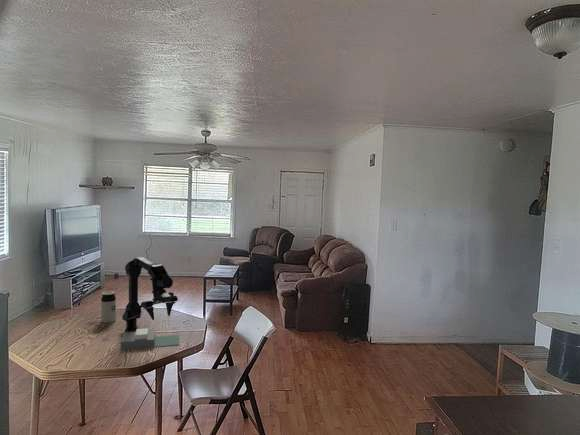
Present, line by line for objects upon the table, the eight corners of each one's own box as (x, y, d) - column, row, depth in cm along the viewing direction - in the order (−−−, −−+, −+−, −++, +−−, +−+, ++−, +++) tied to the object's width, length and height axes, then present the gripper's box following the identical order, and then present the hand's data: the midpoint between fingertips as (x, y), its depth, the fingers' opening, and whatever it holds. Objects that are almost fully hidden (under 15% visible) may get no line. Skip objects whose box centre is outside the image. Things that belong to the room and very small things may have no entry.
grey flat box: (124, 340, 205) (124, 333, 205) (155, 337, 210) (155, 330, 210) (120, 349, 193) (120, 342, 193) (154, 346, 198) (154, 339, 197)
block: (136, 333, 205) (136, 329, 205) (148, 332, 207) (148, 328, 207) (134, 339, 197) (134, 335, 196) (147, 338, 198) (147, 334, 198)
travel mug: (98, 321, 233) (98, 293, 232) (110, 318, 240) (109, 290, 239) (107, 324, 230) (107, 294, 229) (118, 320, 237) (118, 292, 236)
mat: (156, 337, 211) (156, 336, 211) (178, 335, 214) (178, 334, 214) (155, 347, 197) (155, 346, 197) (179, 345, 201) (179, 344, 201)
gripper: (149, 291, 189) (152, 322, 188) (182, 285, 203) (185, 314, 202) (138, 291, 196) (141, 321, 195) (170, 285, 210) (173, 313, 209)
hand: (161, 317), depth 200 cm, fingers open, 9 cm apart
